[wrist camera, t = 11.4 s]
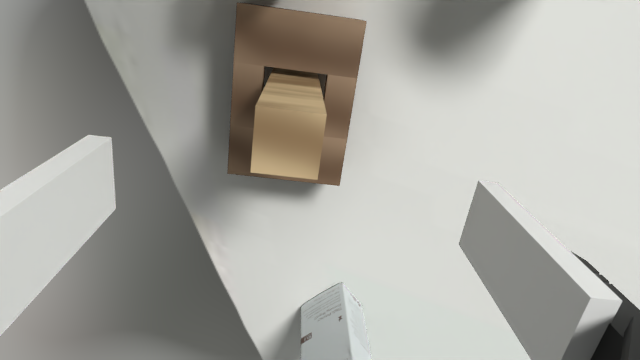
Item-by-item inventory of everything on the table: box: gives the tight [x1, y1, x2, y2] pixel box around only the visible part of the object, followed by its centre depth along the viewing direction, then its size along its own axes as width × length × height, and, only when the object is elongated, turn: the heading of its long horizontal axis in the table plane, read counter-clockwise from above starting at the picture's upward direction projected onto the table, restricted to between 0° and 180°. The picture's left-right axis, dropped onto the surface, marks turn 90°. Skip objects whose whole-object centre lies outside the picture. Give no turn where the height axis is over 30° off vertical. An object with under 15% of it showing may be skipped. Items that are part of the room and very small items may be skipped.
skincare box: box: [301, 282, 372, 360], centre depth 43 cm, size 6×4×12 cm
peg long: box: [250, 68, 327, 180], centre depth 32 cm, size 4×4×16 cm
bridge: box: [227, 3, 367, 186], centre depth 37 cm, size 14×10×4 cm
